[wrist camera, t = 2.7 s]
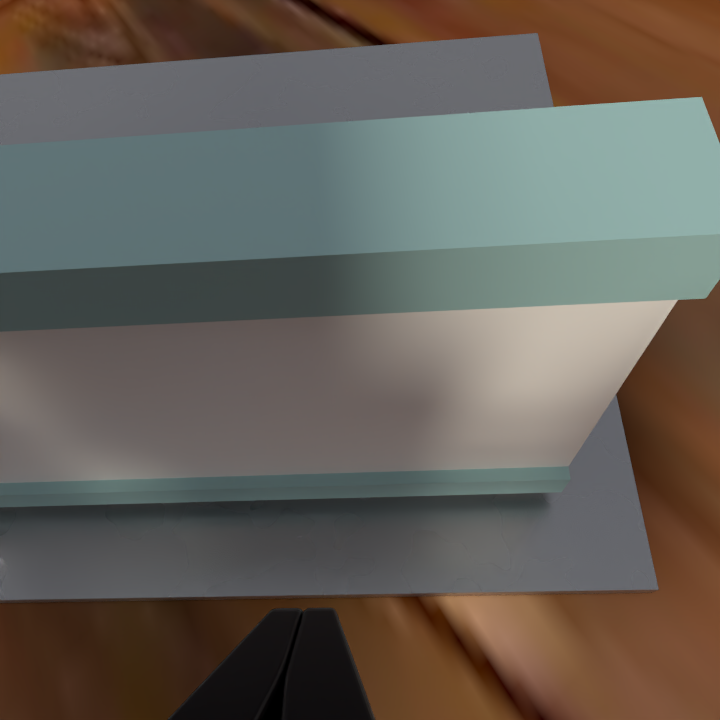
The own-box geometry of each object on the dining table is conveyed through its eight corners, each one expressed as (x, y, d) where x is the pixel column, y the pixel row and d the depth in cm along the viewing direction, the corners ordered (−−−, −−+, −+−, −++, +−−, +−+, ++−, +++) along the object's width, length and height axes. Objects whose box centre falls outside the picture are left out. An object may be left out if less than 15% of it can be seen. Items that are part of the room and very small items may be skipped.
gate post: (-293, 607, 16) (-1569, 448, 6) (-56, 89, 26) (-382, -327, 15) (651, 592, 15) (1238, 333, 4) (535, 45, 24) (626, -458, 14)
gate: (-106, 516, 16) (-735, 301, 7) (-81, 443, 17) (-610, 175, 8) (560, 499, 15) (763, 219, 6) (547, 421, 16) (708, 81, 7)
